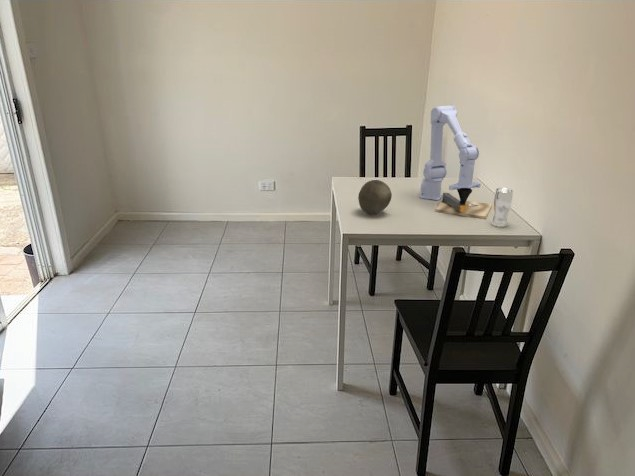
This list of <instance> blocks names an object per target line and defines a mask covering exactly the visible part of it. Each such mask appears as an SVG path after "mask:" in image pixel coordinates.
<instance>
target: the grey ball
mask: <svg viewBox="0 0 635 476" xmlns="http://www.w3.org/2000/svg"><path fill="white" fill-rule="evenodd" d="M392 195H393V193H392V191H391V188H390V186H389V185H388V184H386V182H384V181H382V180H379V179H373V180H369V181H367V182H365V183H364V184H363V185H362V186H361V188H360V190H359V192H358V197H357V198H358V205H359V207H360V209H361V210H362V211H363V212H365V213H366V214H368V215H376V214H379V213H382V212H383V211H384V210H385V209H386V208H387V207H388V206H389V205H390V203H391V201H392V197H393V196H392Z"/></svg>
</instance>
